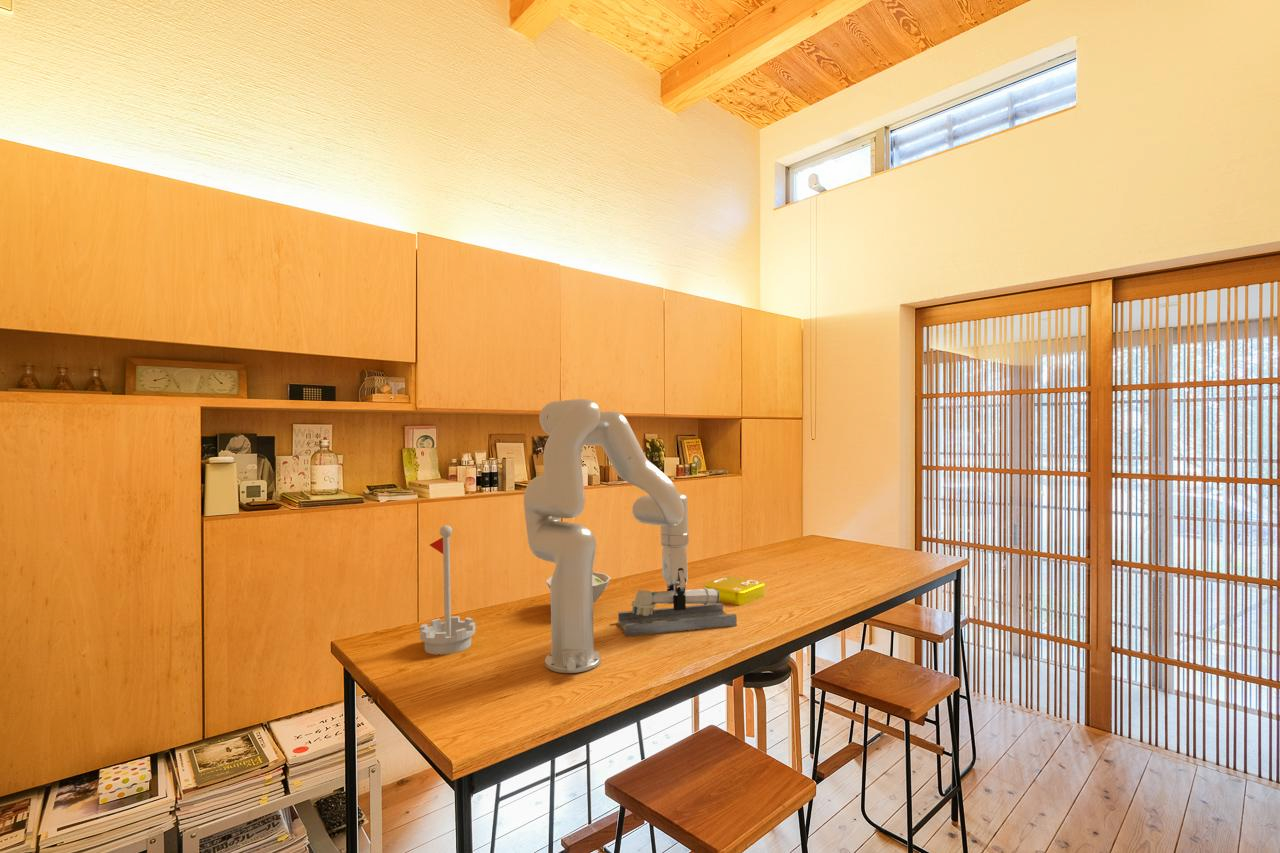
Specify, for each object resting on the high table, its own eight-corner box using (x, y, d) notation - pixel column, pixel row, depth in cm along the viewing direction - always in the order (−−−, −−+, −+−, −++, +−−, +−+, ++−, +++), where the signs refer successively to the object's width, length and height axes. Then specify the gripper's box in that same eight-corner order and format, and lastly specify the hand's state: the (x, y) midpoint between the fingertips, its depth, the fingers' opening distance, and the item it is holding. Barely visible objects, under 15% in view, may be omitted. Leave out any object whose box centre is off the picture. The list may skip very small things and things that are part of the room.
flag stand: (485, 639, 149) (483, 522, 149) (453, 658, 137) (450, 530, 137) (443, 634, 154) (441, 520, 154) (408, 652, 141) (406, 528, 142)
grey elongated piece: (721, 590, 161) (638, 590, 151) (719, 615, 160) (635, 616, 151) (712, 586, 166) (630, 585, 156) (709, 609, 165) (627, 610, 156)
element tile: (728, 588, 194) (728, 573, 194) (767, 596, 184) (767, 581, 184) (700, 598, 184) (700, 582, 184) (740, 607, 173) (740, 591, 173)
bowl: (589, 596, 187) (589, 564, 187) (624, 610, 171) (623, 576, 171) (534, 607, 175) (534, 574, 176) (566, 624, 160) (565, 587, 160)
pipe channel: (736, 625, 156) (736, 615, 156) (626, 636, 149) (626, 625, 149) (721, 612, 167) (721, 603, 167) (618, 622, 160) (618, 612, 160)
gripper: (653, 535, 166) (655, 598, 166) (669, 546, 149) (671, 617, 149) (679, 533, 167) (680, 596, 167) (697, 544, 151) (699, 614, 151)
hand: (676, 605), depth 158 cm, fingers closed on grey elongated piece, 5 cm apart
